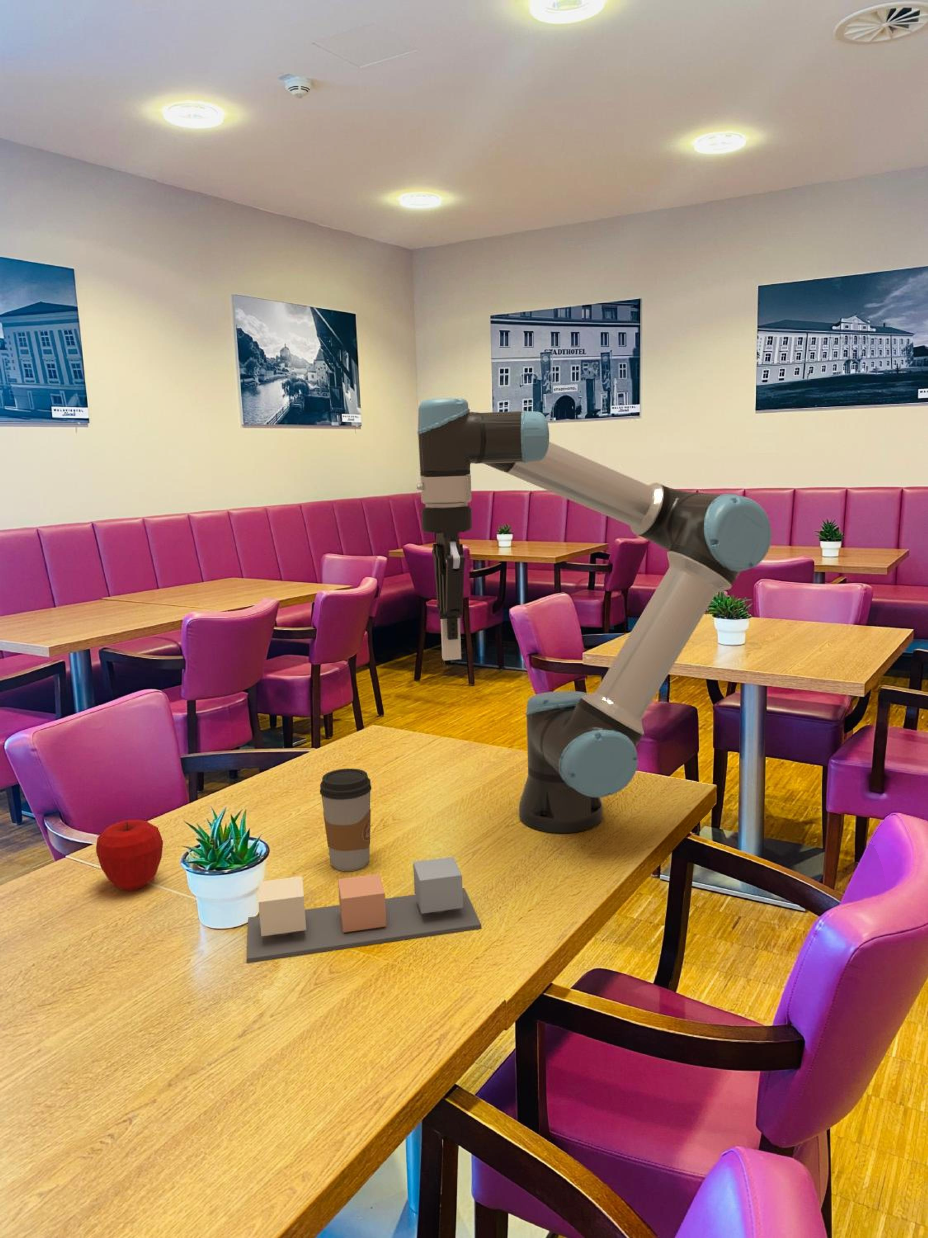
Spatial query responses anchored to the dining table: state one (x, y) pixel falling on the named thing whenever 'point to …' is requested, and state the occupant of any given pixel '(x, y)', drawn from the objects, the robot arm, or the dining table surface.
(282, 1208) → the dining table surface
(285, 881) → the block cream
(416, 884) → the block slate
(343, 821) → the coffee cup
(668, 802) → the dining table surface
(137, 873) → the apple
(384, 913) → the block terracotta
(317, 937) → the strip
